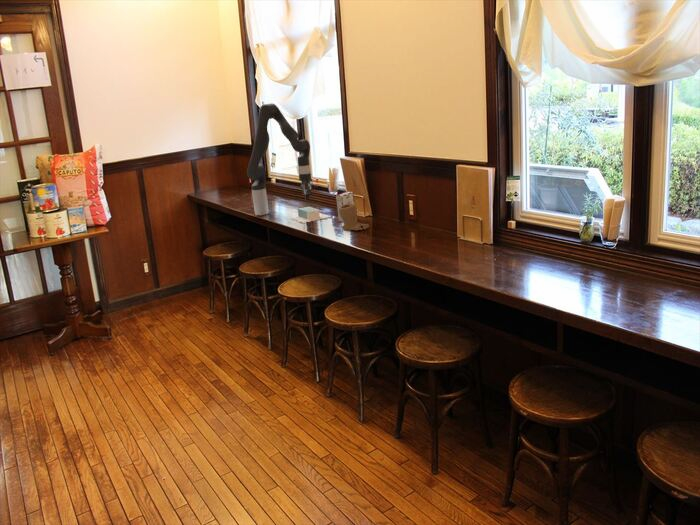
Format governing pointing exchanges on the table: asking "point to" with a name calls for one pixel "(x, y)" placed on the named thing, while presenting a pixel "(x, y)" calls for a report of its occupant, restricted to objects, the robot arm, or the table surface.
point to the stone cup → (350, 217)
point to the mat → (303, 220)
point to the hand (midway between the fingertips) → (307, 199)
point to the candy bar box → (344, 201)
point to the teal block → (308, 213)
